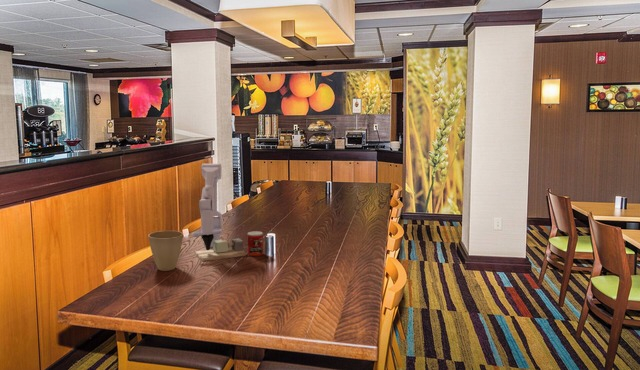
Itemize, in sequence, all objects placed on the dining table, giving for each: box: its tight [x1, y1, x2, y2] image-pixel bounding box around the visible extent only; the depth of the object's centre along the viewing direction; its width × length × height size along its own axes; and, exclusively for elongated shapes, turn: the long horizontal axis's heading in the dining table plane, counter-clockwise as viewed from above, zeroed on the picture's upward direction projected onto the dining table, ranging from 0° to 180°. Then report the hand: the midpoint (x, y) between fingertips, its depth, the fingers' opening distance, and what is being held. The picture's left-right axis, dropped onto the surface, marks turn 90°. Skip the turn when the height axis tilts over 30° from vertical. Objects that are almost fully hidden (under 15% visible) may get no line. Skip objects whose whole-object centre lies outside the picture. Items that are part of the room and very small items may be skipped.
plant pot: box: [147, 230, 184, 272], centre depth 224 cm, size 15×15×16 cm
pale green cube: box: [212, 238, 229, 253], centre depth 247 cm, size 5×6×5 cm
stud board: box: [194, 238, 247, 262], centre depth 247 cm, size 14×22×6 cm, turn 118°
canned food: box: [246, 230, 264, 257], centre depth 248 cm, size 8×8×11 cm
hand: (207, 249), depth 245 cm, fingers closed
